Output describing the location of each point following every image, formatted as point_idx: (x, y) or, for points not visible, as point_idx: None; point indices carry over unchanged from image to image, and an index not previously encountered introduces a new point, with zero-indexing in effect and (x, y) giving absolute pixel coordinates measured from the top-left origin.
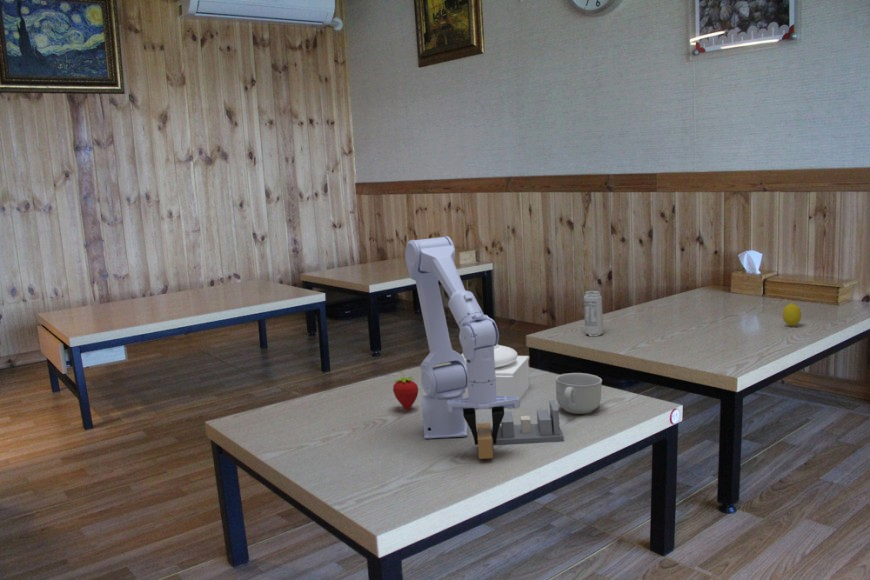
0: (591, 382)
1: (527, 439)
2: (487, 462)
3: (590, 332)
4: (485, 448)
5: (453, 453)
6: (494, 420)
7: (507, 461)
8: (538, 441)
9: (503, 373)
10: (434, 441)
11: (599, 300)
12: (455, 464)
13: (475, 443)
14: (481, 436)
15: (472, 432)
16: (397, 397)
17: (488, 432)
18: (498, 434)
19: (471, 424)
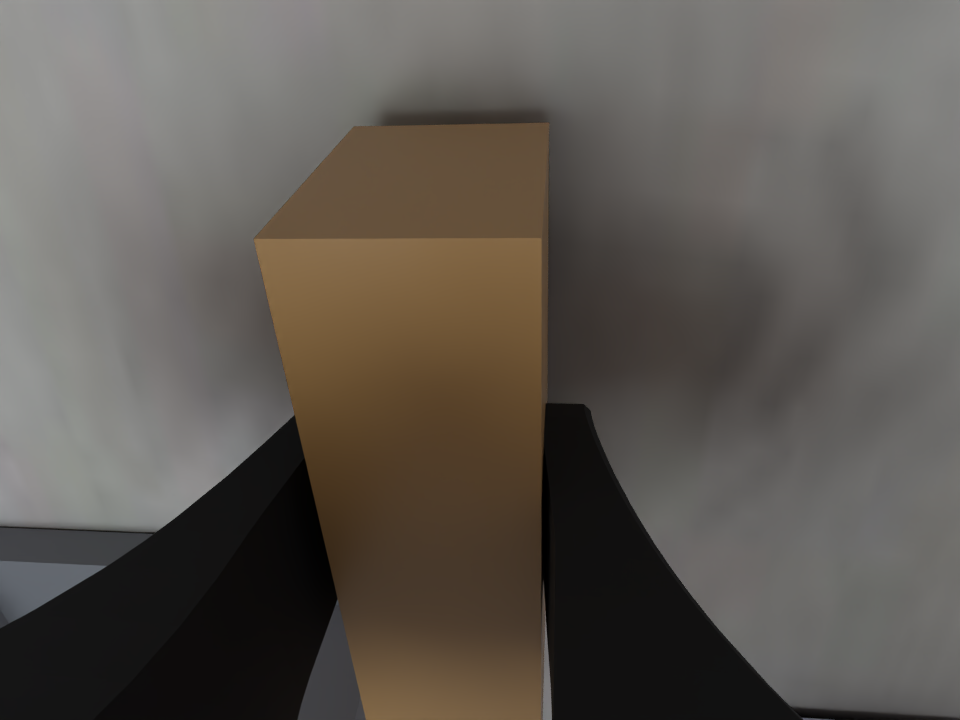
0: None
1: (90, 556)
2: (443, 122)
3: None
4: (425, 175)
5: (826, 429)
6: (108, 662)
7: (197, 124)
8: (14, 534)
9: None
10: (942, 683)
11: None
12: (882, 103)
13: (582, 412)
14: (469, 386)
15: (629, 519)
16: None
17: (361, 520)
18: (339, 639)
19: (660, 640)
